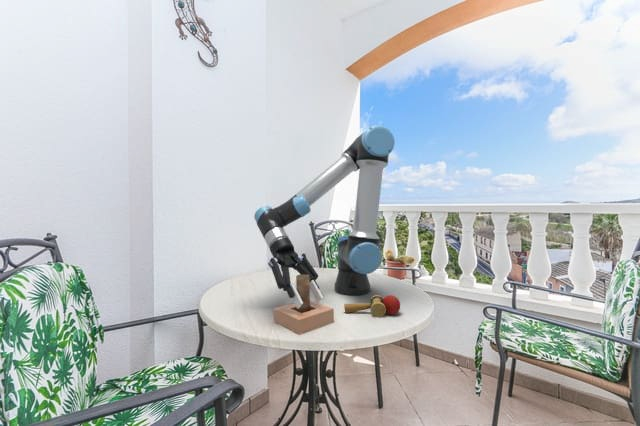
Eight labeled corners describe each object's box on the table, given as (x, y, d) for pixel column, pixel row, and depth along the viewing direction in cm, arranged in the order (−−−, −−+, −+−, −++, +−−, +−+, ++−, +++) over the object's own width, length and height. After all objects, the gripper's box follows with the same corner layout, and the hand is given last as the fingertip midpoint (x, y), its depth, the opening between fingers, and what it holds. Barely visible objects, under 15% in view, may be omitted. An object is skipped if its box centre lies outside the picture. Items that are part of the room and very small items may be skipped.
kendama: (345, 322, 91) (403, 315, 89) (342, 301, 92) (399, 294, 90) (346, 317, 99) (400, 311, 97) (344, 298, 100) (396, 292, 98)
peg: (304, 317, 91) (303, 273, 91) (312, 321, 88) (312, 275, 88) (294, 321, 89) (293, 275, 88) (302, 325, 86) (301, 278, 85)
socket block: (307, 311, 98) (306, 299, 98) (333, 321, 88) (333, 308, 88) (274, 321, 89) (273, 308, 89) (299, 334, 79) (299, 319, 79)
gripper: (298, 248, 106) (329, 302, 94) (249, 254, 93) (277, 318, 81) (307, 234, 102) (340, 289, 90) (256, 239, 89) (287, 303, 77)
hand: (310, 302), depth 86 cm, fingers open, 7 cm apart
